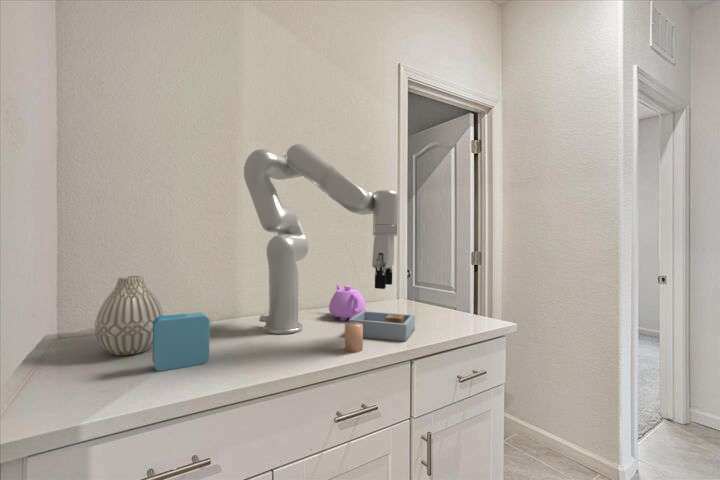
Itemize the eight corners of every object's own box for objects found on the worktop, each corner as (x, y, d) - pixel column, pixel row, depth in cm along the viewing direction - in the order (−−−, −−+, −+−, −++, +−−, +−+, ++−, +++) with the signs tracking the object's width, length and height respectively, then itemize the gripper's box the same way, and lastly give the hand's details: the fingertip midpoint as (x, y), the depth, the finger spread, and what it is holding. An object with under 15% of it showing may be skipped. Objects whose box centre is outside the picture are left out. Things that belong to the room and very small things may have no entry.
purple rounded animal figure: (320, 313, 151) (320, 283, 151) (352, 310, 157) (353, 281, 157) (339, 324, 133) (339, 290, 133) (374, 321, 139) (375, 288, 139)
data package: (206, 358, 96) (206, 311, 96) (209, 363, 92) (209, 314, 92) (152, 366, 90) (152, 316, 90) (154, 372, 86) (154, 320, 86)
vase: (91, 349, 103) (91, 275, 102) (156, 338, 113) (157, 272, 113) (98, 365, 90) (98, 282, 90) (170, 352, 101) (170, 277, 100)
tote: (348, 335, 119) (348, 319, 119) (362, 325, 132) (362, 310, 132) (406, 341, 113) (406, 324, 113) (414, 329, 127) (415, 315, 127)
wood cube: (385, 333, 120) (385, 317, 120) (389, 329, 125) (389, 314, 125) (400, 334, 118) (400, 318, 118) (404, 330, 123) (404, 315, 123)
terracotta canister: (342, 351, 103) (342, 325, 103) (348, 346, 108) (348, 321, 108) (359, 353, 102) (359, 327, 101) (364, 347, 106) (365, 323, 106)
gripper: (379, 230, 125) (378, 282, 126) (365, 230, 109) (364, 289, 109) (401, 231, 123) (400, 283, 124) (391, 231, 107) (389, 291, 107)
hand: (383, 286), depth 116 cm, fingers open, 9 cm apart
